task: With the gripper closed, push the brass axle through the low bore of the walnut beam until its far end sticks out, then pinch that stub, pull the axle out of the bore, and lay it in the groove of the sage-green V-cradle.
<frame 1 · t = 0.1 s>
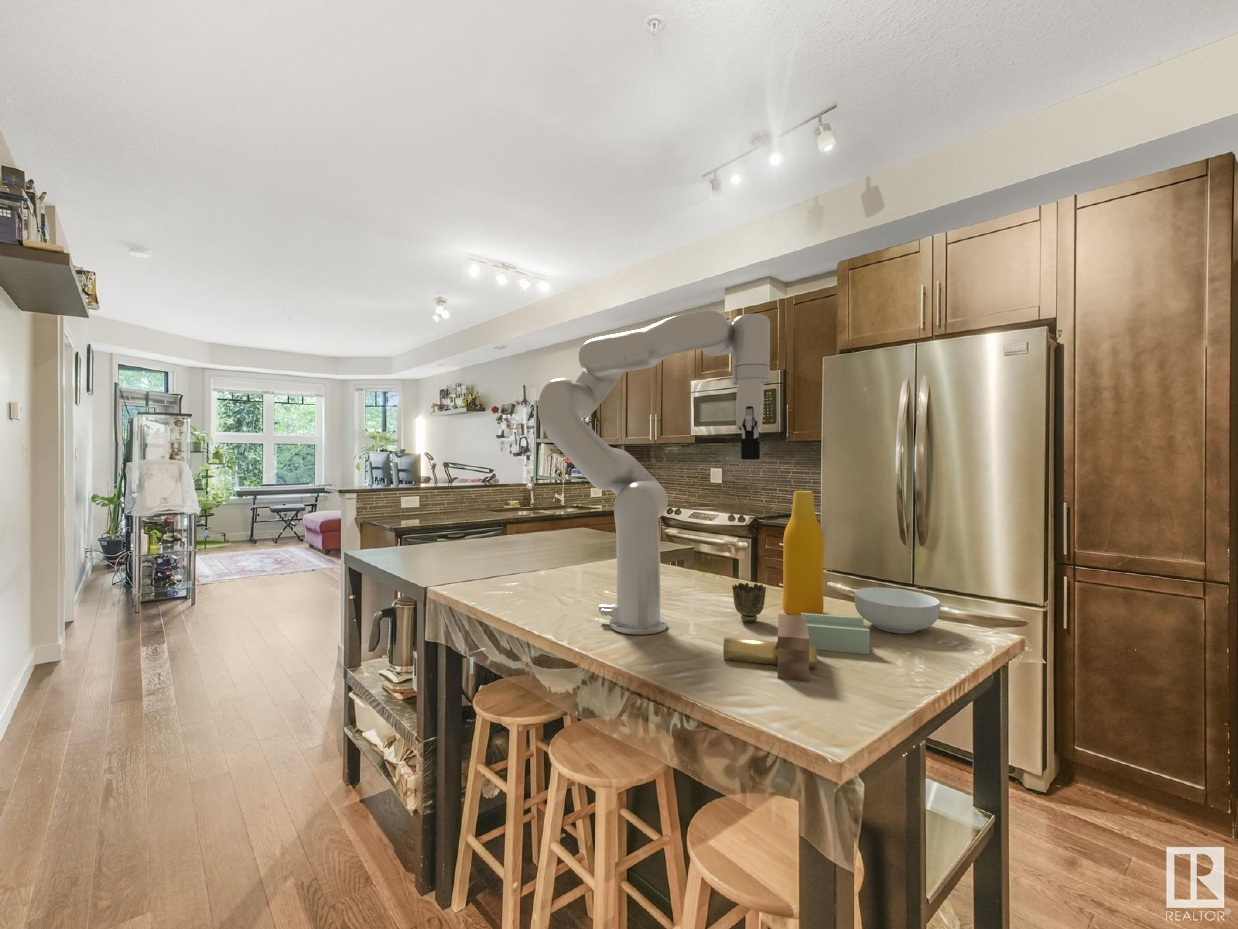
hand: (750, 459, 115), 37 cm above the kitchen island, tool pointing down, fingers open, 9 cm apart
cereal bowl: (895, 629, 122), on the kitchen island
axle: (769, 652, 101), point 2 cm above the kitchen island
beer bottle: (802, 613, 134), on the kitchen island
cup: (748, 622, 127), on the kitchen island
beam: (792, 664, 100), on the kitchen island
v block: (833, 643, 111), on the kitchen island
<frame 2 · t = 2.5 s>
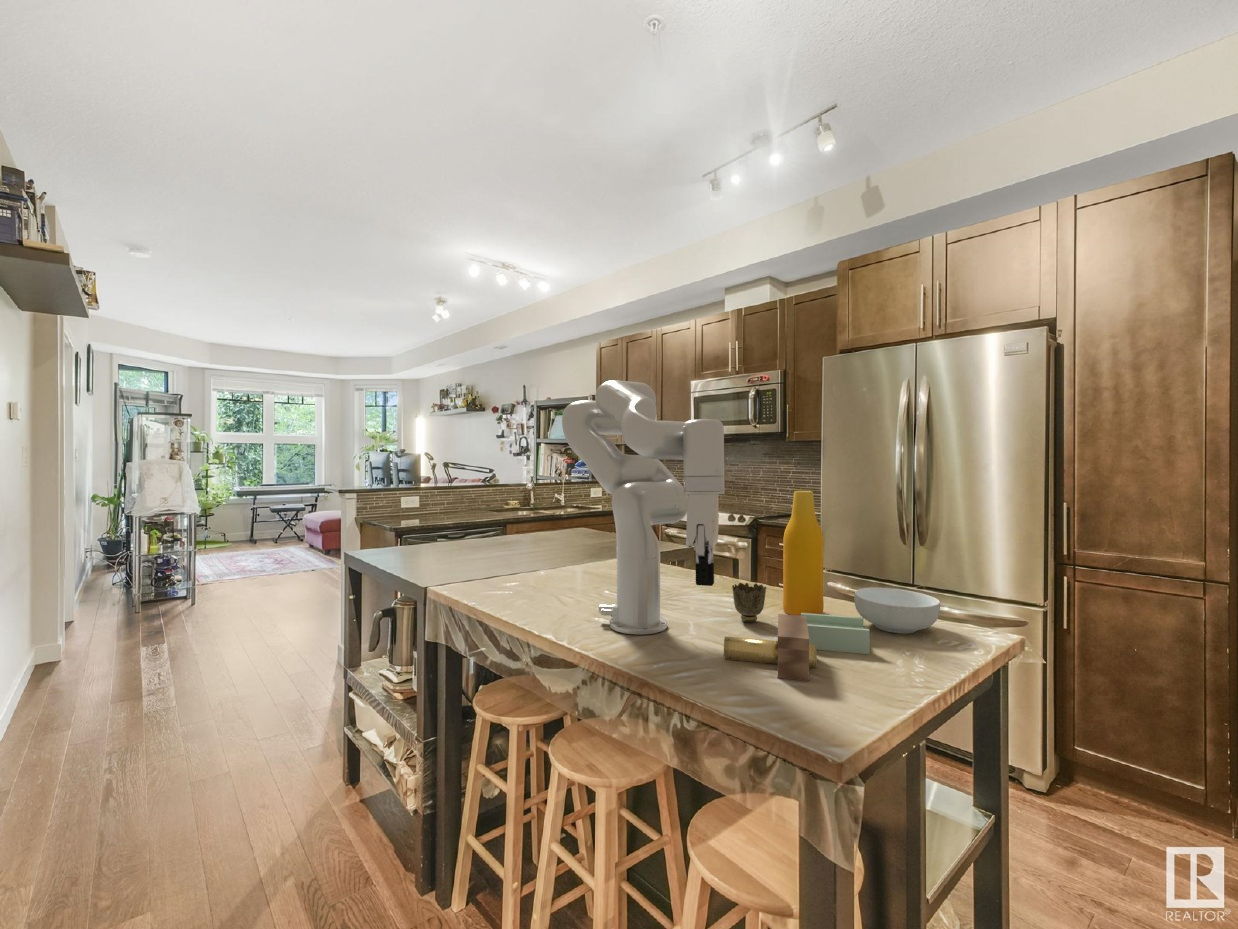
hand: (704, 584, 104), 13 cm above the kitchen island, tool pointing down, fingers closed
axle: (769, 651, 102), point 2 cm above the kitchen island, tilted 13°
everything else where it was.
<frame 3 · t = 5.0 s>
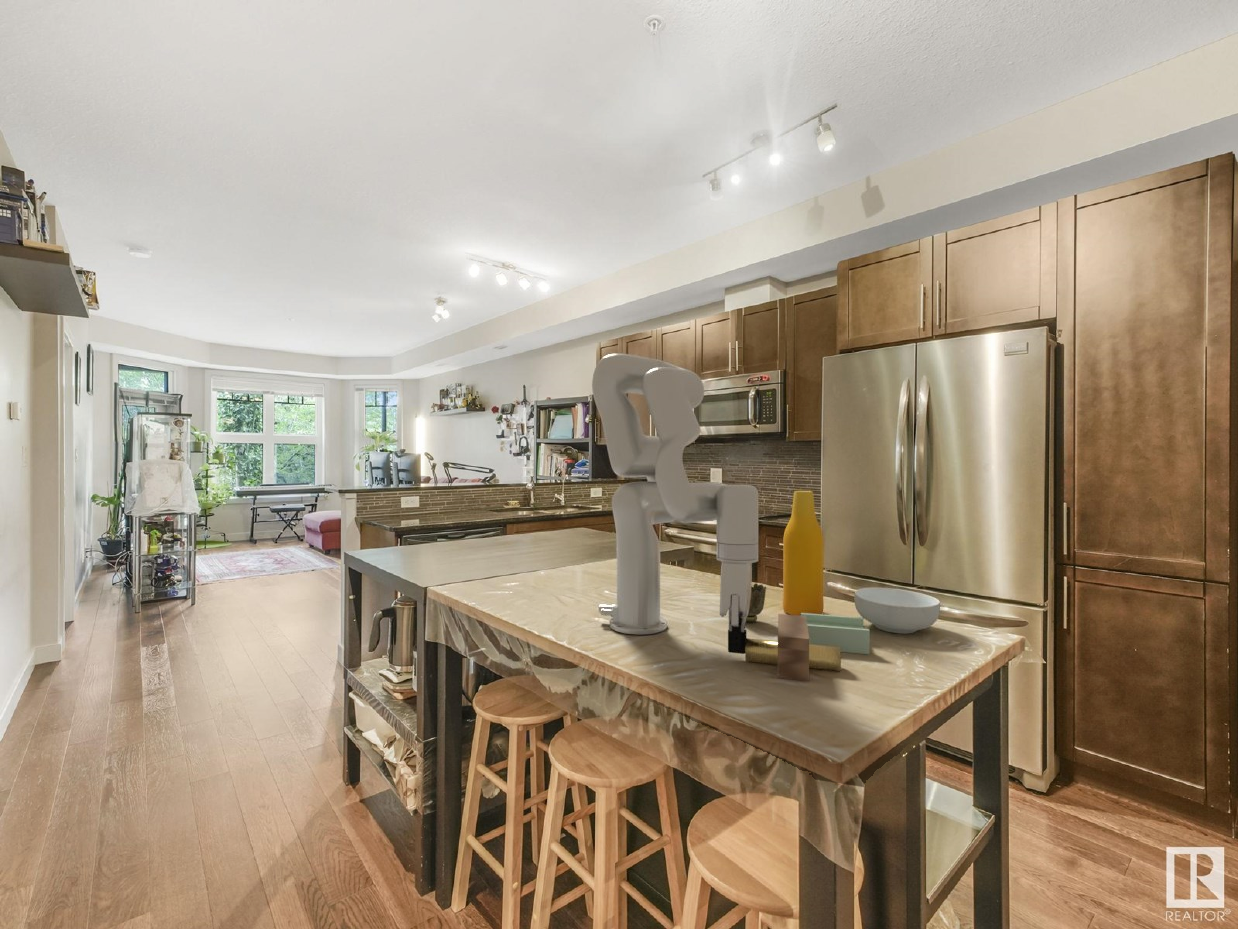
hand: (737, 651, 103), 1 cm above the kitchen island, tool pointing down, fingers closed
axle: (791, 654, 100), point 2 cm above the kitchen island, touching gripper
everything else where it was.
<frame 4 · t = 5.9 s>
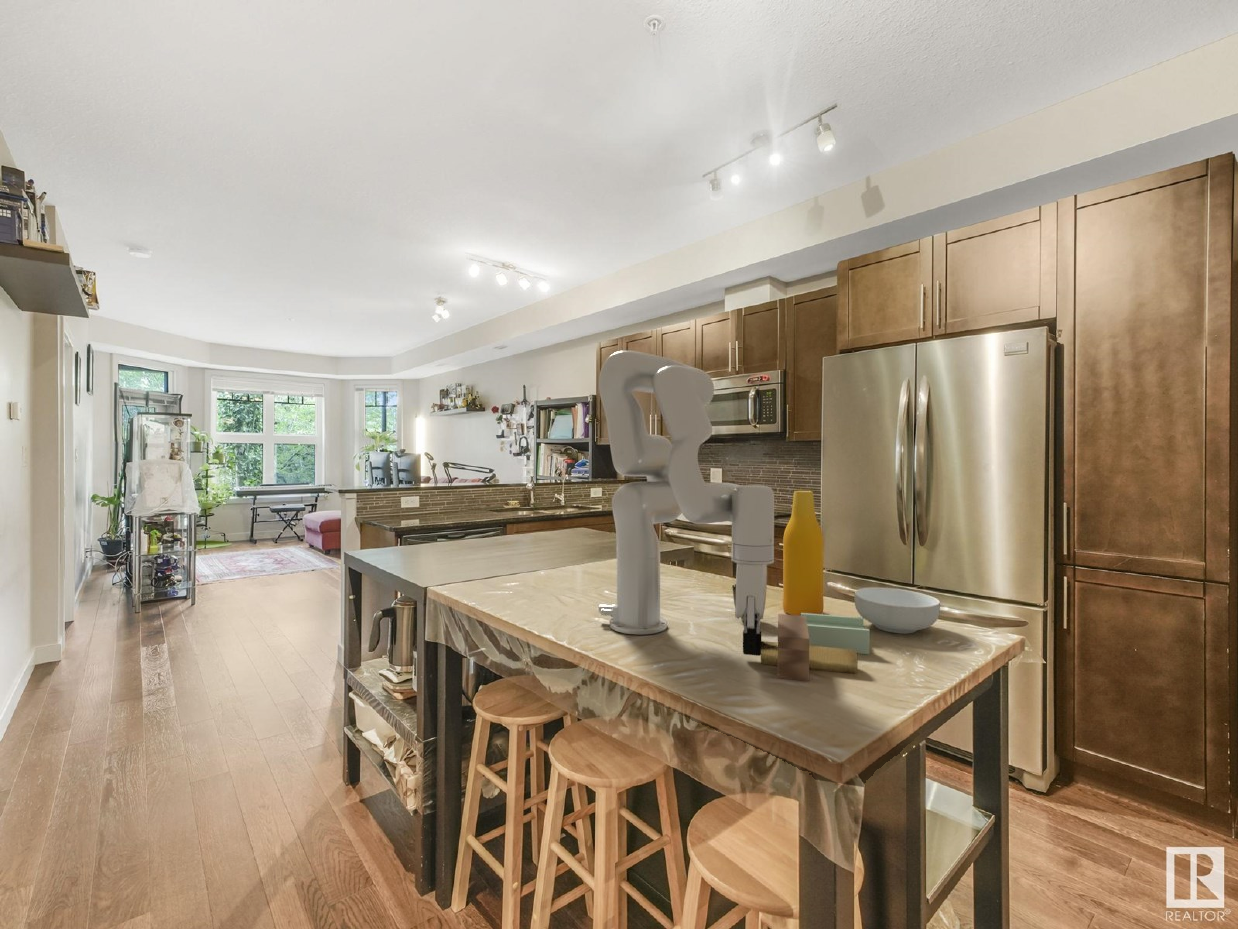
hand: (752, 653, 102), 1 cm above the kitchen island, tool pointing down, fingers closed
axle: (807, 657, 99), point 2 cm above the kitchen island, touching gripper
everything else where it was.
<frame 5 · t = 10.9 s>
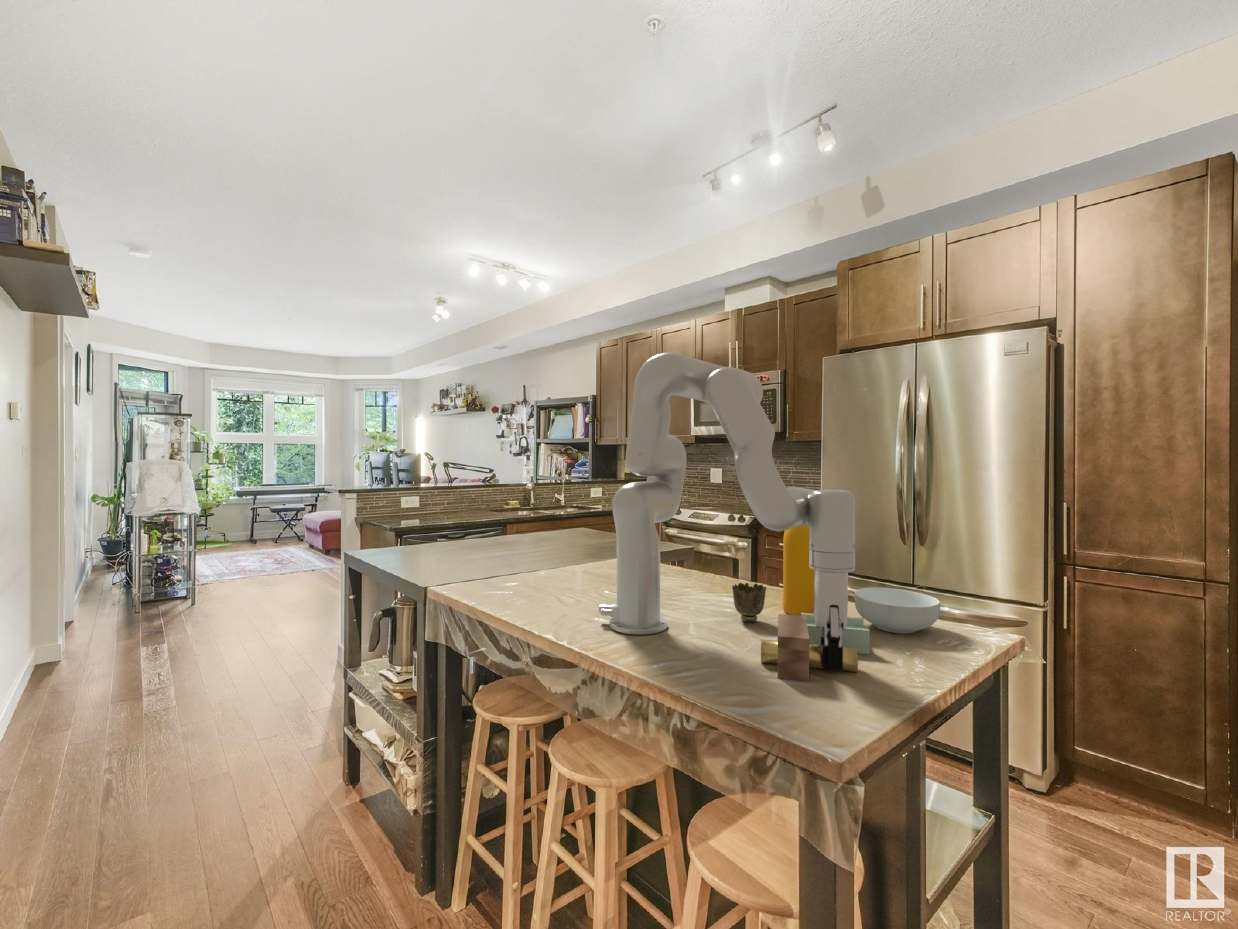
hand: (831, 663, 98), 1 cm above the kitchen island, tool pointing down, fingers closed on axle, 4 cm apart
axle: (807, 655, 99), point 2 cm above the kitchen island, tilted 7°, touching gripper
everything else where it was.
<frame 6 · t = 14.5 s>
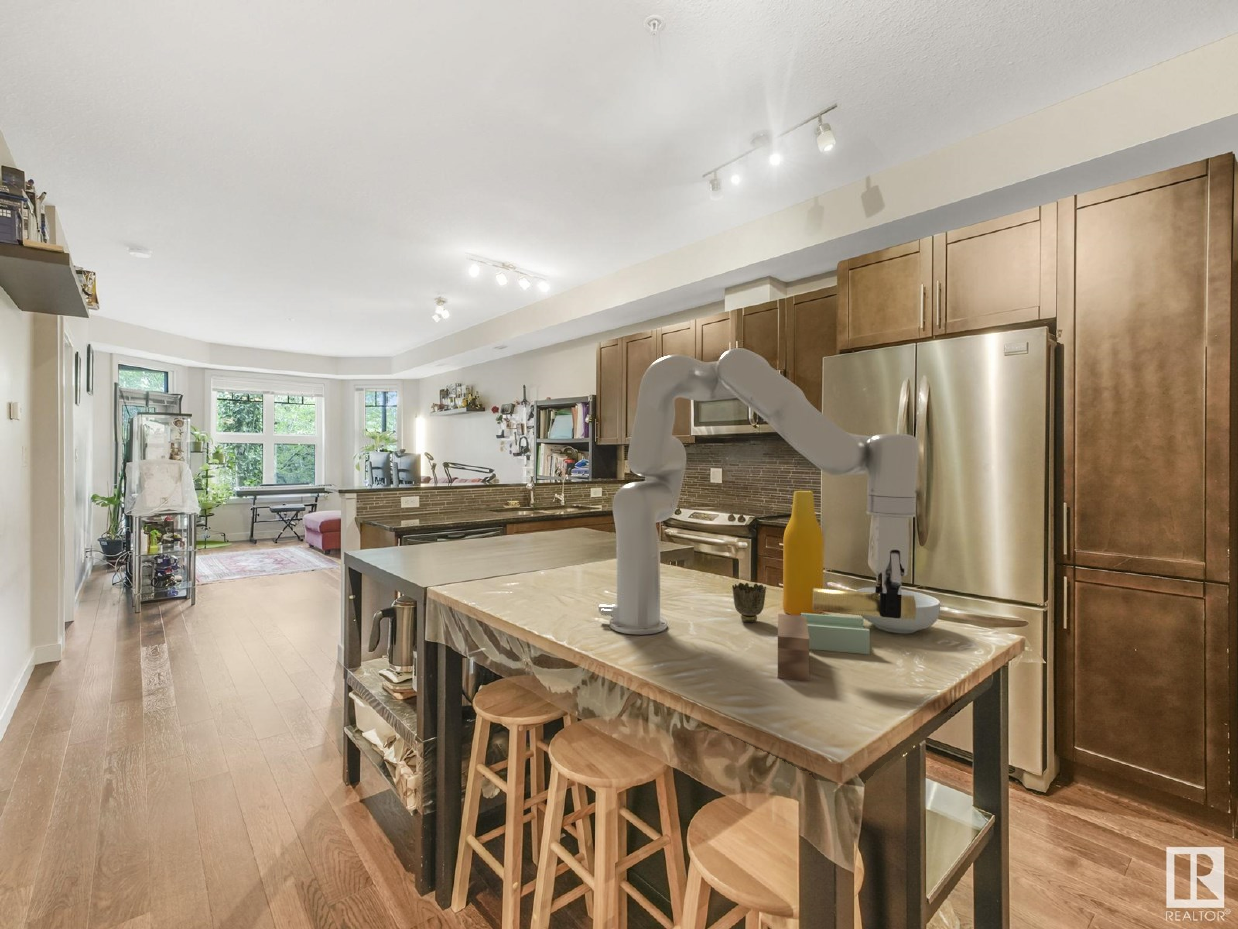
hand: (887, 612, 96), 11 cm above the kitchen island, tool pointing down, fingers closed on axle, 4 cm apart
axle: (862, 603, 97), point 12 cm above the kitchen island, tilted 7°, touching gripper
everything else where it was.
when the fingers open (5 cm above the kitchen island, at t = 18.4 s): axle drops 3 cm, resting on v block.
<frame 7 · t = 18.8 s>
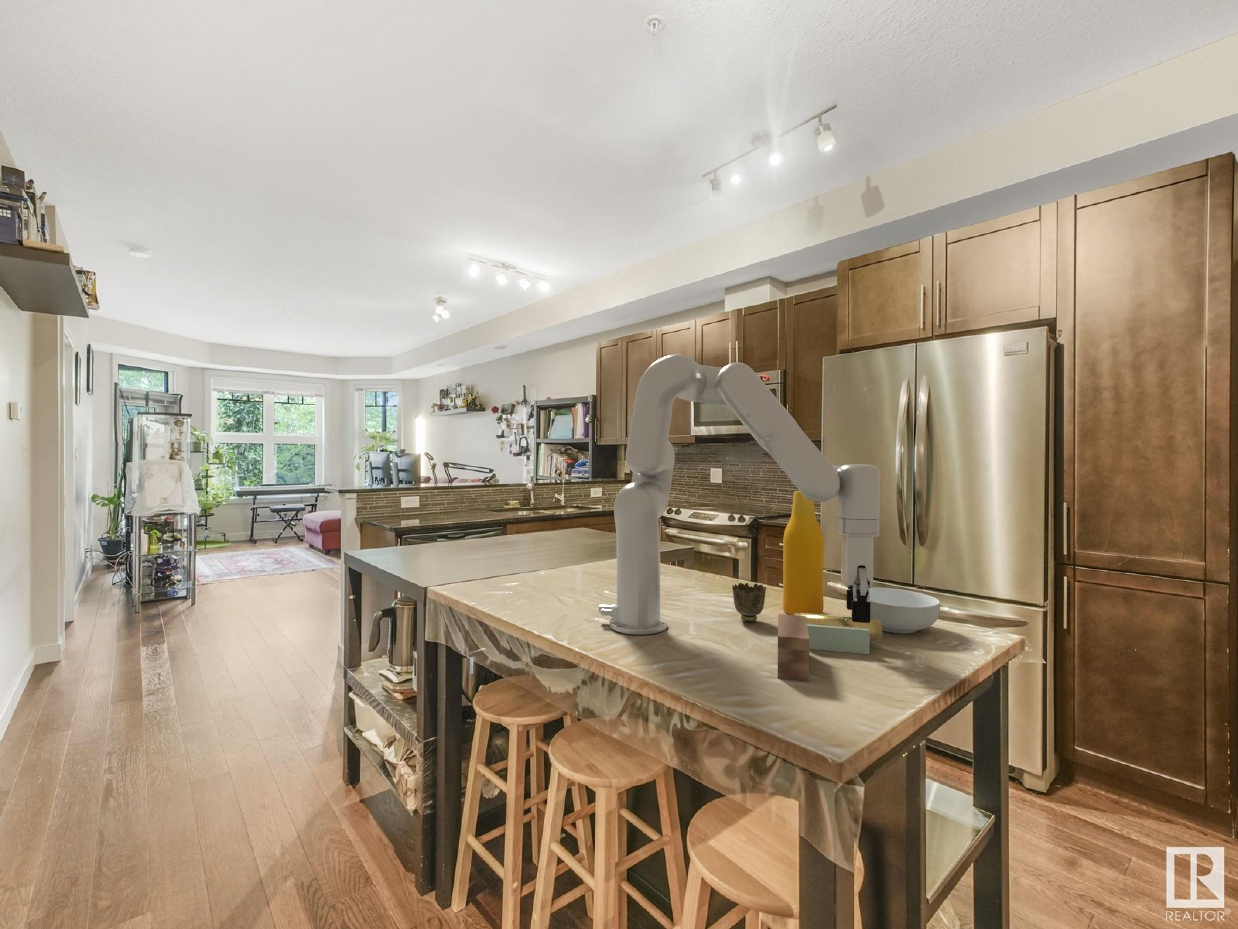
hand: (857, 615, 110), 6 cm above the kitchen island, tool pointing down, fingers open, 8 cm apart
axle: (836, 626, 111), point 3 cm above the kitchen island, tilted 7°, touching v block
everything else where it was.
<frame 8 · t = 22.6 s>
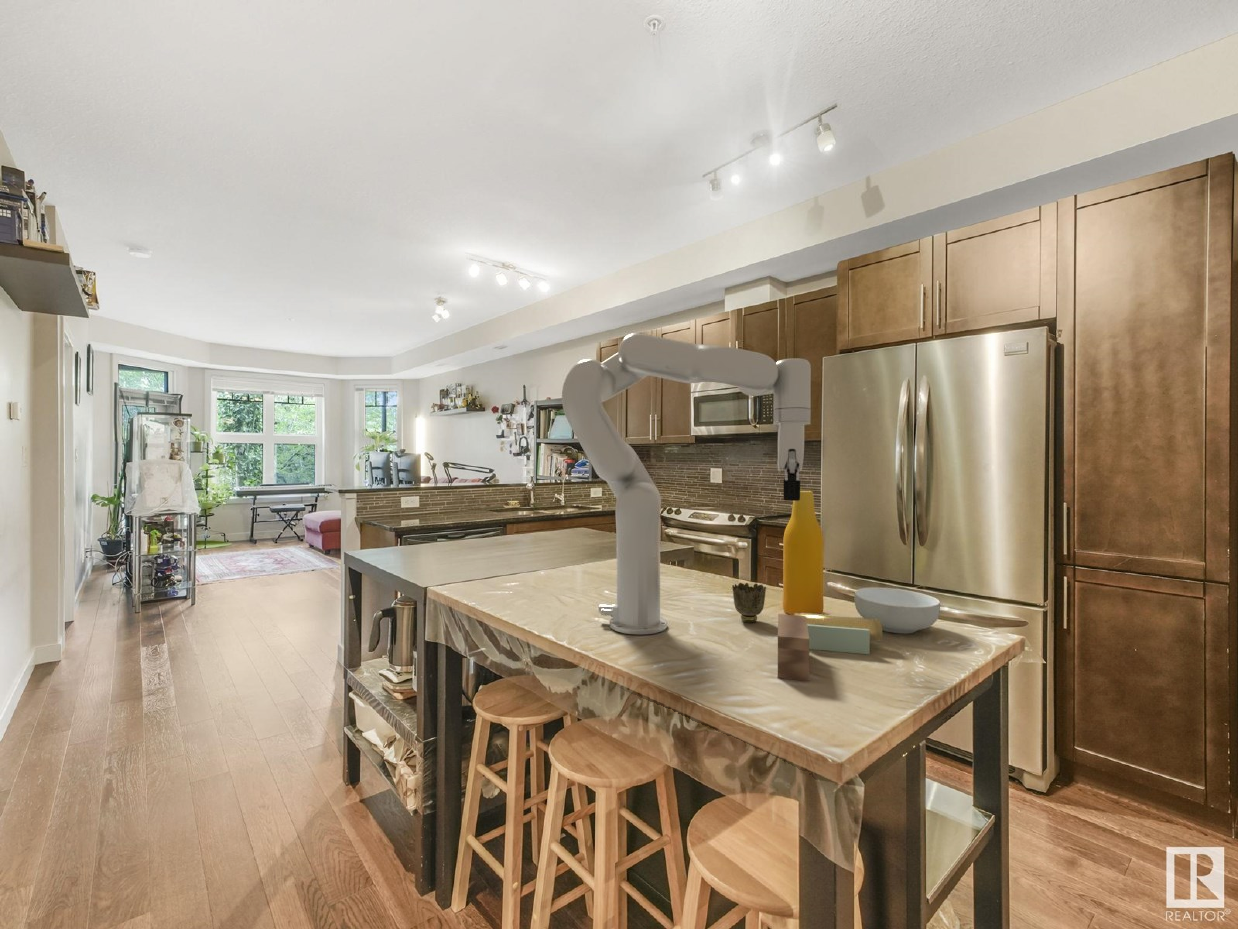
hand: (791, 498, 119), 28 cm above the kitchen island, tool pointing down, fingers open, 9 cm apart
nothing on the kitchen island moved.
at the end: axle 0.6 cm off-centre on the v block, point 3.5 cm above the v block's base; the gripper is holding nothing; axle touching v block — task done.
